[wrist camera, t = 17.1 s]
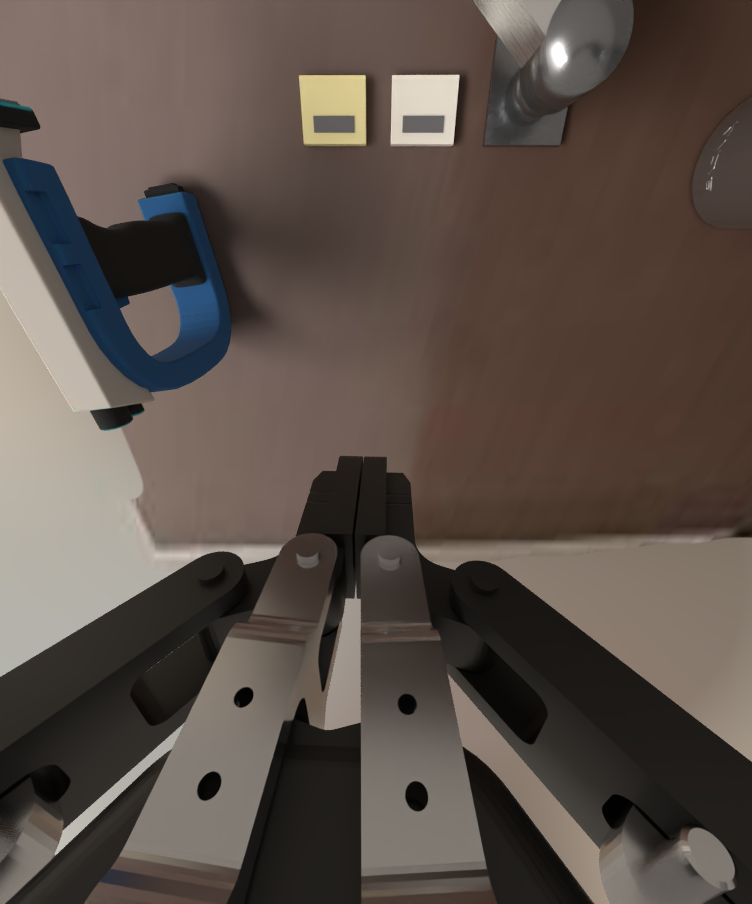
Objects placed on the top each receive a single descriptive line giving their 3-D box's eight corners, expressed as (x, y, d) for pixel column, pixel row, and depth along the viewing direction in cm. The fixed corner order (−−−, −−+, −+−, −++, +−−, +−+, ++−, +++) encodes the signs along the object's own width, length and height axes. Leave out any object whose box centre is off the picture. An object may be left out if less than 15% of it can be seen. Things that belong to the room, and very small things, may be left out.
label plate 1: (366, 79, 28) (365, 74, 27) (366, 146, 30) (365, 143, 29) (301, 79, 28) (298, 74, 28) (305, 145, 30) (303, 143, 30)
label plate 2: (457, 78, 28) (459, 74, 27) (451, 146, 30) (453, 144, 29) (392, 78, 28) (392, 74, 27) (390, 146, 30) (390, 143, 29)
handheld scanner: (187, 155, 31) (-66, 66, 14) (247, 346, 39) (132, 433, 22) (138, 165, 31) (-163, 90, 15) (207, 351, 40) (65, 440, 23)
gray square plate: (578, 40, 27) (614, 3, 22) (557, 146, 30) (585, 132, 25) (495, 40, 27) (515, 4, 23) (482, 146, 30) (498, 131, 26)
